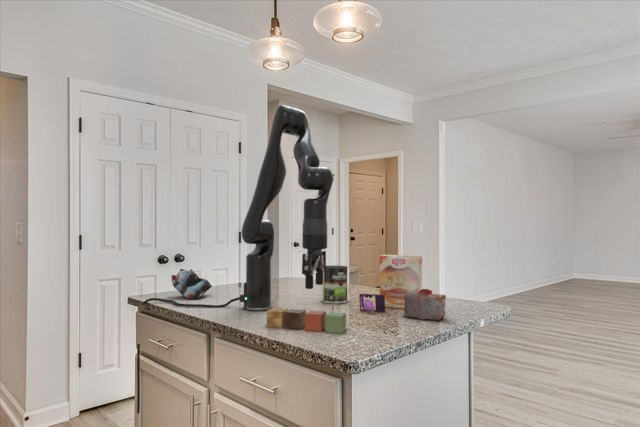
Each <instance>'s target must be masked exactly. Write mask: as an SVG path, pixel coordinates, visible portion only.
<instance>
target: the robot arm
mask: <svg viewBox="0 0 640 427" xmlns="http://www.w3.org/2000/svg"><path fill="white" fill-rule="evenodd" d="M283 134H286V135H290V136H294V137H296V138H297V140H296V142H295V143H294V145H293V150H292V152H293V157H294V159H295V162H296V165H297V169H298V173H297V174H298V175H297V182H298V185H299V187H300V188H301V189H303V190H305V191H318V192H317V194H316V195H315V196H314V197H309V198H306V199H304V201H303V219H302V237H301V238H302V245H301V246H302V249H304V250H307V251H306V253H302V255H301V256H302V259H301V274H302V275H303V276H304V277H305V278H304V279H305V284H304V287H305V289H307V290H313V289H314V273H315V285H316V286H317V285H319V286H322V284H323V272H324V270H326V266H327V251H326V249H327V248H328V218H327V216H328V201H329V197H330V193H331V191H332V190H331V189H332V187H333V182H334V174H333V172H332V170H331V169H330V168H328V167H325V166H324V167H323V166H322V167H321V166H320V164H321V162H320V161H321V160H320V158H319V155H318V153H317V151H316V149H315V147H314V144H313V141H312V135H311V130H310V124H309V120H308V117H307V114H306V113H305V111H303V110H301V109H299V108H295V107H292V106H288V105H286V104H285V105H284V104H280V105H278V106H277V107H276V109H275V111H274V114H273V117H272V121H271V126H270V131H269V136H268V142H267V146H266V150H265V153H264V157H263V160H262V164H261V167H260V170H259V173H258V178H257V181H256V185H255V188H254V192H253V195H252V199H251V202H250V205H249V208H248V210H247V213H246V215H245V218H244V220H243V223H242V226H241V238H242V241H243V242H244V243H245V244H248V245H254V246H255V247H254V249H253V250H252V251H251V252H249V253H248V254H246V256H245V282H244V283H243V293H242V294H240V295H239V297H235V298H233V299H230V300H229V301H227V302H226V303H224V304H216V305H215V304H214V305H213V304H202V303H201V304H199V303H197V304H194V303H180V302H176V301H175V300H173V299H172V300H171V299H166V298H165V299H164V298H159V297H151V298H147V299H146V300H144V301H143V302H142V304H147V303H149V302H151V301H157V302H163V303H172V304H174V305H175V306H179V307H188V308H189V307H192V308H196V307H197V308H212V309H213V308H224V307H228V306H229V305H230V304H231V303H233V302H236V301H239V302H240V303H243V310H247V311H253V312H255V311H256V312H261V311H267V310H270V309H272V257H273V255H274V246H275V244H274V243H275V229H274V225H273V222H272V221H271V220H270V219H266V218H264V217H265V216H264V215H265V213H266V211H267V209H268V208H269V206H270V205H271V204H272V203H273V202H274V201H275V199H276V198H277V197H278V196H279V194H280V193H281V191H282V189H283V186H284V183H285V180H286V176H287V167H286V162H285V159H284V156H283V152H282V136H283ZM140 350H141V344H140V343H137V346H136V352H137V353H136V356H137V357H136V358H137V359H136V376H137V377H136V379H137V380H136V383H137V384H136V386H137V387H136V388H137V389H136V390H137V396H136V398H137V400H136V402H137V403H136V414H137V415H138V414H140V412H141V411H140V410H141V409H140V408H141V372H140V370H141V369H140V368H141V366H140V364H141V362H140V361H141V360H140V356H141V351H140Z"/></svg>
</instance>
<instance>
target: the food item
mask: <svg viewBox="0 0 640 427" xmlns="http://www.w3.org/2000/svg"><path fill="white" fill-rule="evenodd" d="M404 300H405V309H404V318H411V319H419V320H422V321H423V320H431V321H441V320H442V319H444V318H445V317H446V308H445V307H446V300H447V296H446V294H441V293H433V290H431V289H429V288H422V290H420V291H419V292H410V291H408V292H407V293H405V295H404Z"/></svg>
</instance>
